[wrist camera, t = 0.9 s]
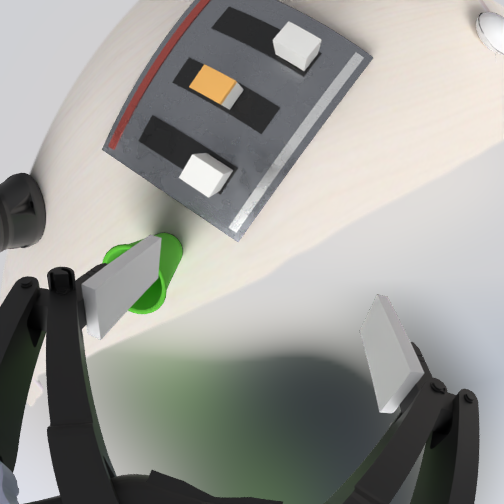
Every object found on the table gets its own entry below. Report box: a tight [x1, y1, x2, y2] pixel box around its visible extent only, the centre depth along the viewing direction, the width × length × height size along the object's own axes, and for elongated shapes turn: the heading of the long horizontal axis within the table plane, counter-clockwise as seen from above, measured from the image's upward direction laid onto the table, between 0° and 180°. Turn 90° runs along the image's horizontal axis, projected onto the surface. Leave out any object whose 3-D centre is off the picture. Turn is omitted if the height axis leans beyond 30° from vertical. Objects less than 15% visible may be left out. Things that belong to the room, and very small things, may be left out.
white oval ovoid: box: [476, 12, 504, 56], centre depth 18 cm, size 10×7×7 cm
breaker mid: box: [189, 64, 244, 110], centre depth 27 cm, size 4×3×5 cm
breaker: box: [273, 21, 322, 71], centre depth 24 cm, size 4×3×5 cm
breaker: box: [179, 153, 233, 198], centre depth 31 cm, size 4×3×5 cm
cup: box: [102, 233, 183, 314], centre depth 36 cm, size 9×9×11 cm
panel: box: [102, 0, 373, 242], centre depth 31 cm, size 24×30×2 cm
